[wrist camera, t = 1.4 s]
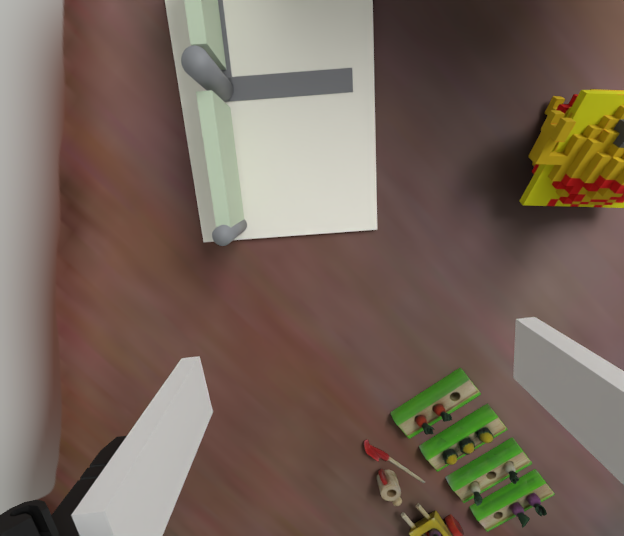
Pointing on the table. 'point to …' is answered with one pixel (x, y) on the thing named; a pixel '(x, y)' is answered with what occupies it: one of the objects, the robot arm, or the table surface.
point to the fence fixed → (206, 48)
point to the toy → (580, 153)
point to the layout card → (291, 114)
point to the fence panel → (221, 167)
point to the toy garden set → (454, 445)
